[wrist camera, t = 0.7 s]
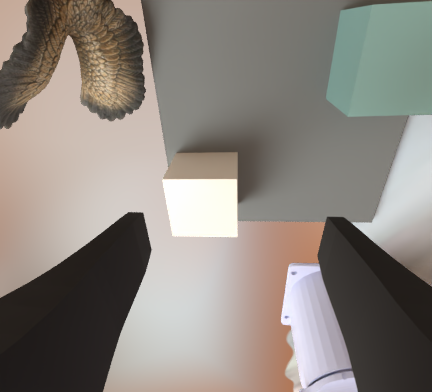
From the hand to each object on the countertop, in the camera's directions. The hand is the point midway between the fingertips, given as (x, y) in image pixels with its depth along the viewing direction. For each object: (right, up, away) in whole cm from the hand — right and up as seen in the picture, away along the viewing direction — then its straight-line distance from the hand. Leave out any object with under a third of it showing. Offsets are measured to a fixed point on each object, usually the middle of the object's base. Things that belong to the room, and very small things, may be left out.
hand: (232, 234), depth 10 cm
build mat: (+4, +7, +7) cm, 11 cm away
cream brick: (-1, +3, +10) cm, 10 cm away
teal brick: (+8, +10, +4) cm, 13 cm away
